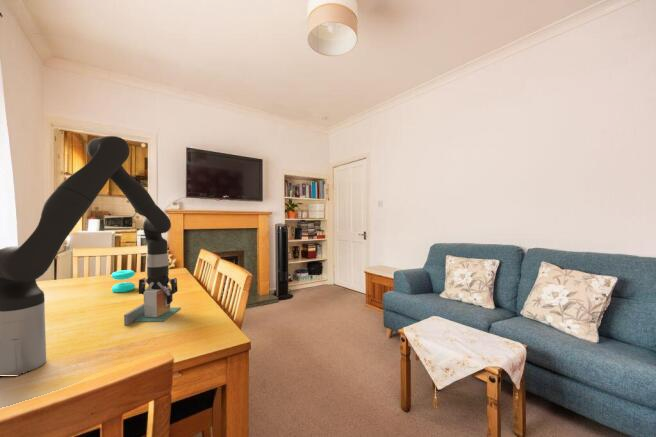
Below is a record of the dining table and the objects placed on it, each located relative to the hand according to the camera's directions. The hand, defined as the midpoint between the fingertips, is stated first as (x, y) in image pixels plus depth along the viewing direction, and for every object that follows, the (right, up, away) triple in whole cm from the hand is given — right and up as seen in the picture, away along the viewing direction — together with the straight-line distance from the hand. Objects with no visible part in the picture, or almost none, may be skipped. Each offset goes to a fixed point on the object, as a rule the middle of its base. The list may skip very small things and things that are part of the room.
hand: (158, 303), depth 114 cm
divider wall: (-6, -5, 0) cm, 8 cm away
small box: (0, -4, 0) cm, 4 cm away
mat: (0, -5, 0) cm, 5 cm away
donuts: (-39, -3, +33) cm, 51 cm away
